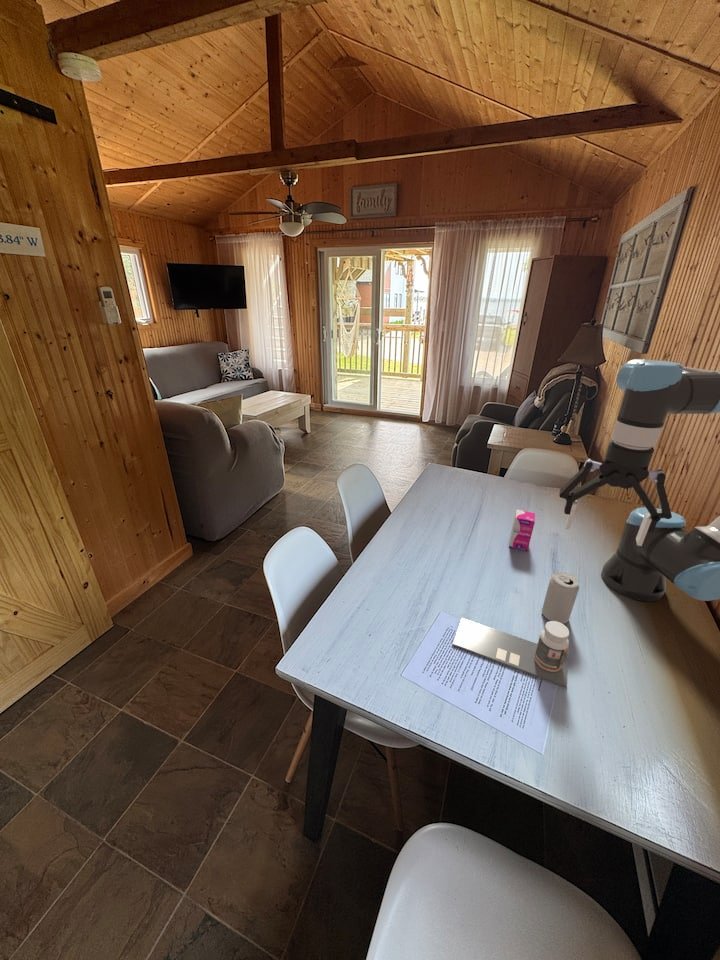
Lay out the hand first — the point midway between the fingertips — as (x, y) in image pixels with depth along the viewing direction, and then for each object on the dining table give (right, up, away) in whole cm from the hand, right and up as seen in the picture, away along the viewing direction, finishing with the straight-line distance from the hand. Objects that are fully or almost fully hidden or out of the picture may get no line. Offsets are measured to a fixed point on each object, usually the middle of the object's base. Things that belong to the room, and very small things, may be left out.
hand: (601, 534), depth 86 cm
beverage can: (-3, -23, +14) cm, 27 cm away
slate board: (-19, -27, +4) cm, 33 cm away
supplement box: (-1, -10, +42) cm, 43 cm away
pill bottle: (-12, -29, +1) cm, 31 cm away
